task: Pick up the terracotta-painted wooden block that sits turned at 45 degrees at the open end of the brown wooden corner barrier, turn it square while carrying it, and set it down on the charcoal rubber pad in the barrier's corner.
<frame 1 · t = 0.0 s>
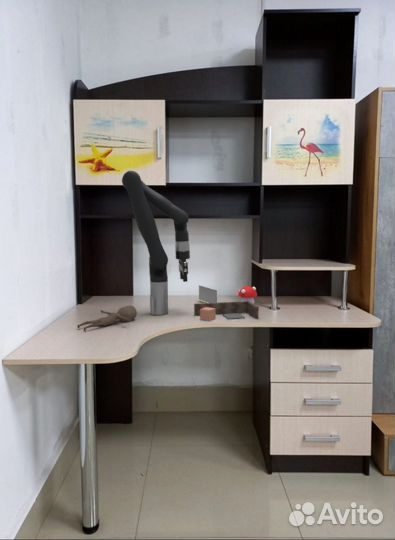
hand: (183, 280, 223), 17 cm above the table, tool pointing down, fingers open, 8 cm apart
block: (207, 319, 210), on the table
mushroom: (247, 307, 237), on the table
brown wooden corner barrier: (225, 316, 215), on the table
sign holder: (207, 305, 244), on the table
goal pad: (233, 316, 214), on the table
toy: (109, 325, 201), on the table
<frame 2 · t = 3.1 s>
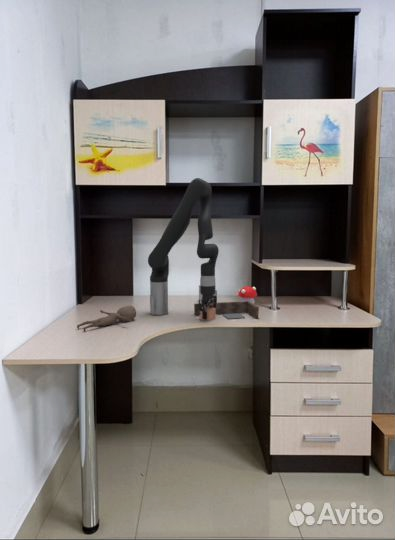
hand: (208, 317, 210), 1 cm above the table, tool pointing down, fingers closed on block, 5 cm apart
block: (207, 319, 210), on the table, touching gripper
everything else where it was.
when the fingers open (3 cm above the table, at t = 8.2 s): block drops 1 cm, resting on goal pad.
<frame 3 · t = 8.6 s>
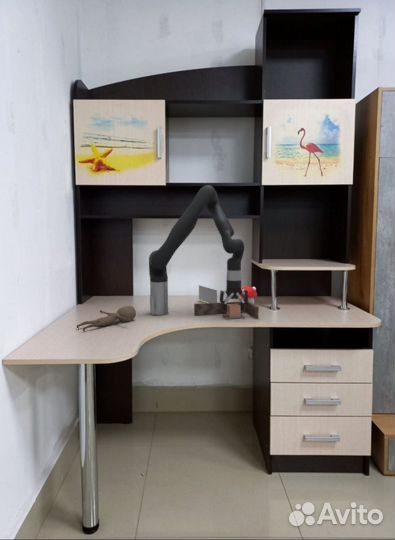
hand: (233, 310, 214), 3 cm above the table, tool pointing down, fingers open, 8 cm apart
block: (233, 315, 214), point 1 cm above the table, touching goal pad
everything else where it was.
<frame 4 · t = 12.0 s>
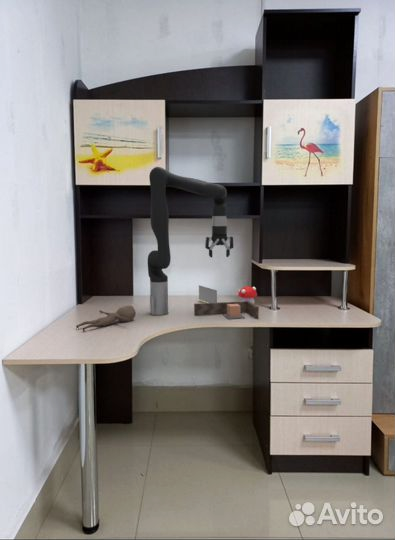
hand: (219, 257, 215), 30 cm above the table, tool pointing down, fingers open, 8 cm apart
nothing on the table moved.
at the end: block inside the target area on the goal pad (0.1 cm from its centre), point 0.6 cm above the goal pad's base; block tilted 0°; the gripper is holding nothing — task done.
